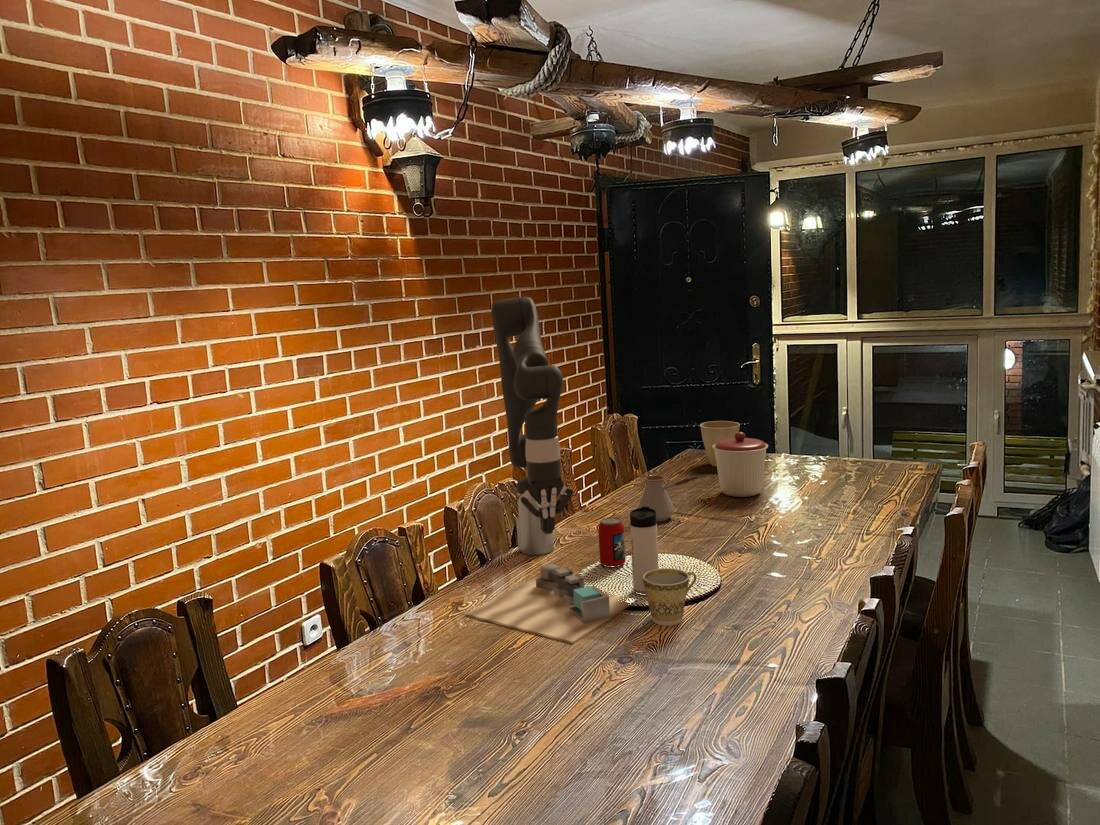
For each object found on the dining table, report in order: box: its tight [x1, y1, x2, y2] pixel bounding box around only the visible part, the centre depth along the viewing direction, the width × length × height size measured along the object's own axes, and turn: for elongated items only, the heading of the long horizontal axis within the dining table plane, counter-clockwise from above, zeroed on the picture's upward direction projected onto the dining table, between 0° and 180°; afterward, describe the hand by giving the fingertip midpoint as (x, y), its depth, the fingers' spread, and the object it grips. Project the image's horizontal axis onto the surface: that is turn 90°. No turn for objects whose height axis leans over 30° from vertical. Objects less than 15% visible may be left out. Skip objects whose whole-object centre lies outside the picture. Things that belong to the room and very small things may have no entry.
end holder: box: [570, 585, 611, 624], centre depth 182 cm, size 7×7×5 cm
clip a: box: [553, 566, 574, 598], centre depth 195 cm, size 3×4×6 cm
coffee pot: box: [637, 475, 702, 522], centre depth 250 cm, size 21×12×15 cm, turn 53°
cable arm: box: [539, 563, 600, 610], centre depth 192 cm, size 25×4×4 cm, turn 24°
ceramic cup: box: [643, 567, 697, 627], centre depth 179 cm, size 13×10×10 cm
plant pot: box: [699, 420, 741, 467], centre depth 317 cm, size 15×15×16 cm
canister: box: [713, 431, 769, 498], centre depth 274 cm, size 18×18×21 cm
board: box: [465, 576, 633, 645], centre depth 189 cm, size 30×26×2 cm
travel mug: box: [629, 506, 660, 594], centre depth 194 cm, size 6×7×20 cm
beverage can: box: [598, 516, 626, 567], centre depth 214 cm, size 7×7×12 cm
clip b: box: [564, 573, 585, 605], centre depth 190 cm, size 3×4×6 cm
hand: (548, 532), depth 182 cm, fingers closed
